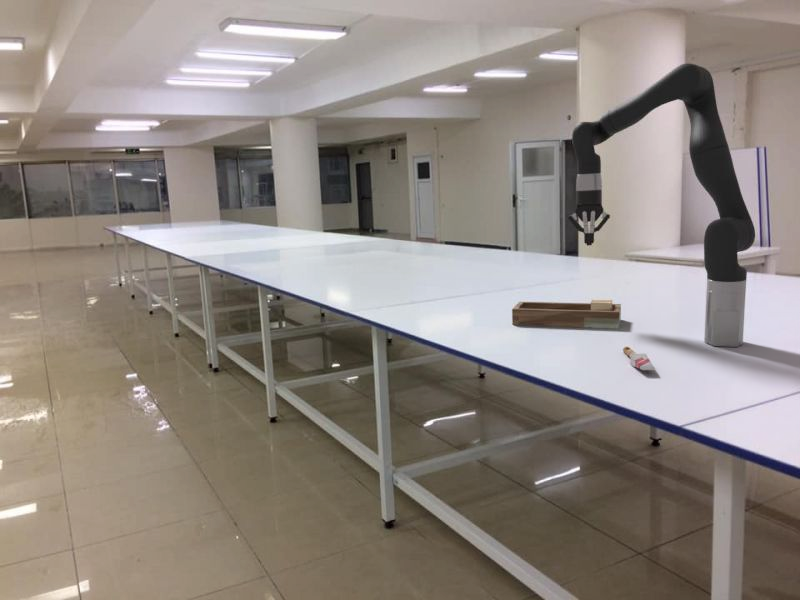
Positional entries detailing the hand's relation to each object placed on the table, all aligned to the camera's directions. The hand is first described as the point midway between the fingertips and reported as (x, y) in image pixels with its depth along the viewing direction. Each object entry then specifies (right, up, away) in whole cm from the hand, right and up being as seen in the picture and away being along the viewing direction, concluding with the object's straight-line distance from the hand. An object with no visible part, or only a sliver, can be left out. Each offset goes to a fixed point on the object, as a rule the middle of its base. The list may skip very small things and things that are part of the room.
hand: (589, 245), depth 197 cm
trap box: (-6, -24, +3) cm, 25 cm away
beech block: (+3, -21, -1) cm, 22 cm away
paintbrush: (-1, -33, -42) cm, 53 cm away
